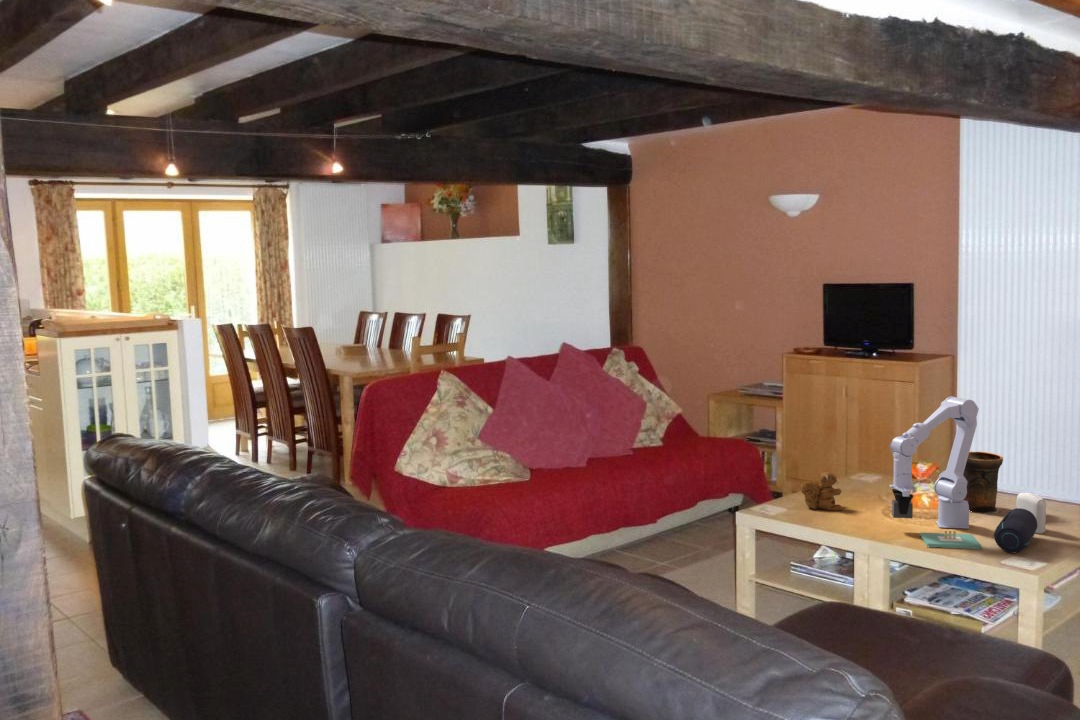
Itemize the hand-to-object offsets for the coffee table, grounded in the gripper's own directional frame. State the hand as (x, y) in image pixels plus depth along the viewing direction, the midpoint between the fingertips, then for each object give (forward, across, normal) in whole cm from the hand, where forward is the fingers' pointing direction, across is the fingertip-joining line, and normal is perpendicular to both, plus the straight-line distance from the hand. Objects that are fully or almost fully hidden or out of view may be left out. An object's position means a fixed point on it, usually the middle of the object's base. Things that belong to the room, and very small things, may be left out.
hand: (902, 512), depth 317 cm
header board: (+7, +11, +13) cm, 18 cm away
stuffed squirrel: (+7, -28, -24) cm, 37 cm away
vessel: (+7, -32, +32) cm, 46 cm away
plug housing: (+1, 0, 0) cm, 1 cm away
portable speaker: (+7, +11, +33) cm, 35 cm away
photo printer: (+7, -7, +42) cm, 43 cm away
